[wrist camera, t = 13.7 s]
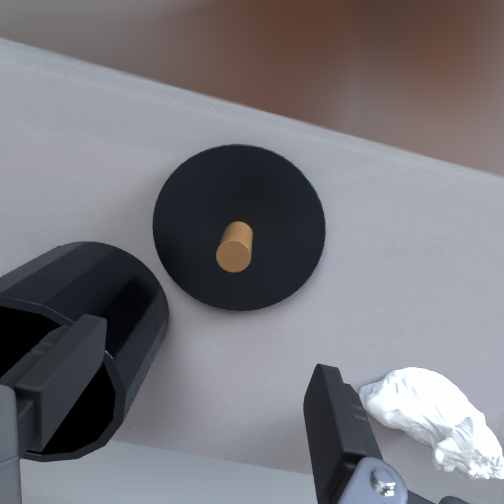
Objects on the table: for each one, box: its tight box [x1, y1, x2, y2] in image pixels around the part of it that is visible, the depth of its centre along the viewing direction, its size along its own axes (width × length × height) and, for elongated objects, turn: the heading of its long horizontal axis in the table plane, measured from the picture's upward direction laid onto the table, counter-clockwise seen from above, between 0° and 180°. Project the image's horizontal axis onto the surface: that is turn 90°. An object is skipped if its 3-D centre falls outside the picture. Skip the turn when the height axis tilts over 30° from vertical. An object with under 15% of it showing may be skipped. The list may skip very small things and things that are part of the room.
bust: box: [359, 367, 504, 480], centre depth 28 cm, size 12×8×11 cm
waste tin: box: [0, 242, 169, 462], centre depth 26 cm, size 13×13×10 cm
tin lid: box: [153, 144, 325, 311], centre depth 25 cm, size 14×14×6 cm
